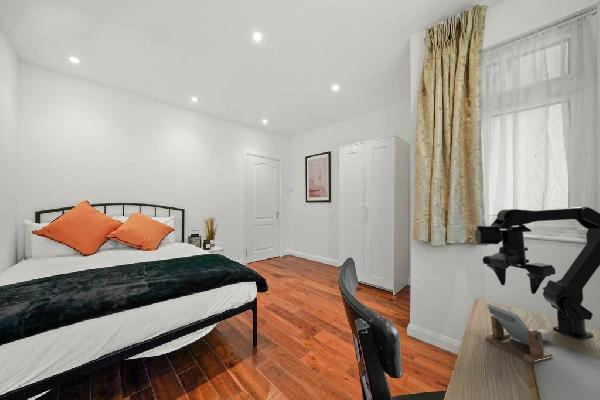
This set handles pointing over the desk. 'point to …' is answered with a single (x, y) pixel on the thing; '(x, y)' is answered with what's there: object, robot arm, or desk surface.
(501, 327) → the flap frame
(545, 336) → the rook chess piece
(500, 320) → the pivoting flap
